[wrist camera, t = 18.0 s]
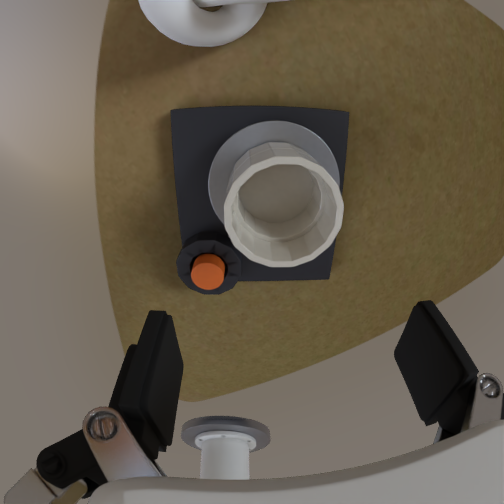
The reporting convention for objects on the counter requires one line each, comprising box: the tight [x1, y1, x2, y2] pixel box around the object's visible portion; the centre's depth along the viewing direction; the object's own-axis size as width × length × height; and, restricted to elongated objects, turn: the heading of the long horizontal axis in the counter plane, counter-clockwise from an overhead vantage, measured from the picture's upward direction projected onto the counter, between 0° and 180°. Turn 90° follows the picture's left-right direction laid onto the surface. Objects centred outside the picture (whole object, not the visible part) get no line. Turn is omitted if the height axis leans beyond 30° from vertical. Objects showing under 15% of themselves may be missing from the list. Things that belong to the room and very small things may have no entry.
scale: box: [171, 106, 349, 294], centre depth 24 cm, size 16×14×3 cm
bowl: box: [224, 142, 344, 267], centre depth 19 cm, size 7×7×6 cm
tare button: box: [191, 254, 225, 290], centre depth 25 cm, size 3×3×2 cm
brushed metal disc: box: [208, 120, 340, 224], centre depth 21 cm, size 10×10×1 cm
